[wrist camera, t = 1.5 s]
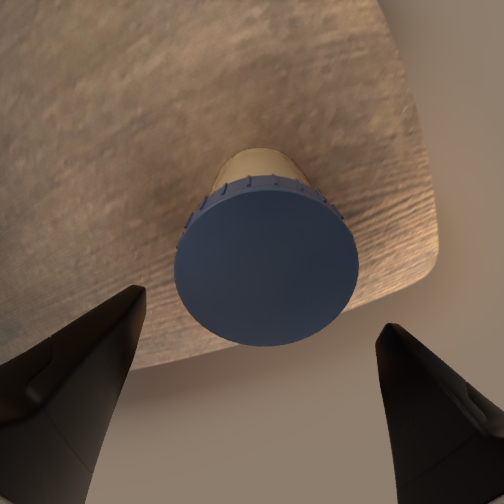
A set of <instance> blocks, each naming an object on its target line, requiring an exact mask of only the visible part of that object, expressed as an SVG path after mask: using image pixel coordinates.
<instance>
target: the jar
mask: <svg viewBox="0 0 504 504" xmlns="http://www.w3.org/2000/svg"><path fill="white" fill-rule="evenodd" d="M272 174H275V176H282V177H287V178H291V179H294V180H296V178H297V179H299V181H300V182H302V183H304V184H306V185H308V186H310V187H311V185H310V184H309V182H308V181H307V179H306V178H305V176H304V175H303V173H302V172H301V170H300V169H299V167H298V166H297V165H296V164H295V162H294V161H293V160H292V159H290V158H289V157H288V156H286V155H285V154H283V153H281V152H279V151H276V150H273V149H268V148H252V149H248V150H244V151H242V152H240V153H238V154H236V155H234V156H233V157H232V158H230V159H229V160H228V161H227V162H226V163H225V164H224V165H223V167H222V168H221V170H220V171H219V173H218V175H217V178H216V180H215V182H214V184H213V187H212V189H211V191H210V193H209V196H210V195H211V194H212V193H213V192H215V191H216V190H217V189H219V188H221V187H223V185H224V183H227V184H228V183H231V182H233V181H236V180H238V179H242V178H246V177H247V175H250V177H251V176H259V175H272ZM311 188H312V187H311Z"/></svg>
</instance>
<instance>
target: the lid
mask: <svg viewBox="0 0 504 504" xmlns="http://www.w3.org/2000/svg"><path fill="white" fill-rule="evenodd" d="M342 219H343V216H342V215H341V214H340V212H339V211H338V210H337V208H336V207H335V205H334V204H333V205H331V204H330V203H329V202H328V200H327V199H326V198H325V197H324V196H323V195H322V194H321V192H320V191H319V190H318V189H317V190H315V189H313V188H311V187H310V186H308V185H306V184H304V183H302V182H300V181H299V179H297V178H296V180H294V179H291V178H287V177H282V176H275V174H272V175H259V176H251V177H250V175H247V177H246V178H242V179H238V180H236V181H233V182H231V183H228V184H227V183H224V185H223V187H221V188H219V189H217V190H216V191H215V192H213V193H212V194H211V195H210V196H205V198H204V200H203V202H202V203H201V204H200V205H199V207H198V208H197V210H196V211H195V212H194V213H191V215H190V217H189V219H188V221H187V223H186V225H185V227H184V228H186V230H185V232H183V234H182V236H181V238H180V240H179V243H178V245H177V247H176V249H177V252H176V256H175V262H174V277H175V283H176V287H177V290H178V293H179V296H180V298H181V300H182V302H183V304H184V306H185V307H186V309H187V310H188V312H189V313H190V314H191V315H192V316H193V317H194V319H195V320H196V321H198V322H199V323H200V324H201V325H202V326H203V327H205V328H206V329H208V330H209V331H210V332H212V333H214V334H216V335H218V336H219V337H222V338H224V339H227V340H229V341H232V342H236V343H239V344H244V345H250V346H278V345H284V344H289V343H293V342H296V341H299V340H302V339H304V338H307V337H309V336H311V335H313V334H315V333H317V332H319V331H320V330H322V329H323V328H324V327H326V326H327V325H328V324H330V323H331V322H332V321H333V320H334V319H335V318H336V317H337V316H338V315H339V314H340V313H341V312H342V311H343V309H344V308H345V306H346V305H347V303H348V302H349V300H350V298H351V296H352V294H353V292H354V289H355V286H356V282H357V278H358V269H359V261H358V252H357V248H356V245H355V242H354V239H353V238H354V237H353V235H352V233H351V232H350V231H349V229H348V228H347V226H346V225H345V223H344V222H343V220H342Z"/></svg>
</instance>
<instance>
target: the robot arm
mask: <svg viewBox="0 0 504 504" xmlns="http://www.w3.org/2000/svg"><path fill="white" fill-rule="evenodd" d="M145 315H146V289H145V287H142V286H138V285H131V286H129V287H128V288H126V289H124V290H123V291H121V292H119V293H118V294H116V295H115V296H113V297H111V298H110V299H108V300H106V301H105V302H103V303H102V304H100V305H98V306H97V307H95V308H94V309H92V310H90V311H89V312H87V313H86V314H84V315H82V316H81V317H79V318H78V319H76V320H75V321H73V322H71V323H70V324H68V325H67V326H65V327H64V328H62V329H61V330H59V331H57V332H56V333H54V334H53V335H51V338H50V337H48V338H47V339H45V340H43V341H42V342H40V343H39V344H37V345H36V346H34V347H32V348H31V349H29V350H28V351H26V352H24V353H22V354H20V355H19V356H17V357H15V358H13V359H11V360H10V361H8V362H6V363H4V364H2V365H0V504H85V500H86V496H87V493H88V489H89V486H90V483H91V479H92V476H93V475H92V474H93V472H94V469H95V465H96V462H97V459H98V456H99V453H100V450H101V446H102V444H103V441H104V437H105V435H106V432H107V429H108V426H109V423H110V420H111V417H112V414H113V412H114V409H115V406H116V403H117V400H118V397H119V395H120V392H121V389H122V387H123V384H124V382H125V379H126V377H127V374H128V371H129V369H130V366H131V364H132V361H133V358H134V355H135V351H136V348H137V344H138V340H139V337H140V333H141V329H142V326H143V322H144V319H145ZM375 347H376V356H377V364H378V373H379V382H380V388H381V393H382V398H383V403H384V408H385V414H386V419H387V424H388V430H389V437H390V443H391V449H392V456H393V464H394V471H395V479H396V489H397V500H398V504H504V411H502V410H501V409H500V408H499V407H497V406H496V405H495V404H493V403H492V402H491V401H490V400H488V399H487V398H486V397H484V396H483V395H482V394H481V393H480V392H478V391H477V390H476V389H475V388H474V387H473V386H471V385H470V384H469V383H468V382H466V380H464V379H463V378H462V377H461V376H460V375H459V374H458V373H456V372H455V371H454V370H453V369H452V368H451V367H449V366H448V365H447V364H446V363H445V362H444V361H442V360H441V359H440V358H439V357H437V356H436V355H435V354H434V353H433V352H432V351H430V350H429V349H428V348H427V347H426V346H424V345H423V344H422V343H421V342H420V341H418V340H417V339H416V338H415V337H413V336H412V335H411V334H410V333H409V332H407V331H406V330H405V329H404V328H403V327H401V326H400V325H399V324H396V323H387V324H386V325H385V326H384V328H383V330H382V332H381V333H380V335H379V337H378V339H377V340H376V344H375Z"/></svg>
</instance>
